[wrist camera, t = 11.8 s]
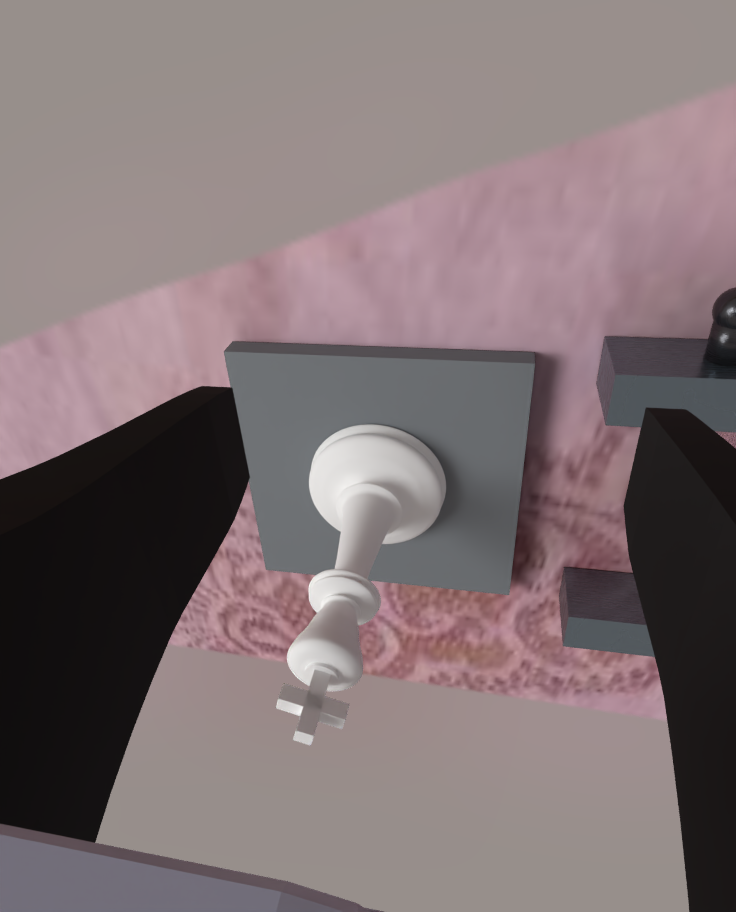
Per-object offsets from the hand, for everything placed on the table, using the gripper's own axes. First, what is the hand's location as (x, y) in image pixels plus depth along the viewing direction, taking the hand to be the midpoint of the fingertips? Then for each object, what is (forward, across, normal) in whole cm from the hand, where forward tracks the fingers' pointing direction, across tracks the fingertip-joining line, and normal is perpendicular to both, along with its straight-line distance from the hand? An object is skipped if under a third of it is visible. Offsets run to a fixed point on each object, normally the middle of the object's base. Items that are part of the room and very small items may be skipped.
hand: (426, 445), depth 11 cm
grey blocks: (+9, -7, +8) cm, 14 cm away
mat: (+9, +3, +7) cm, 12 cm away
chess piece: (+9, +3, +7) cm, 12 cm away
